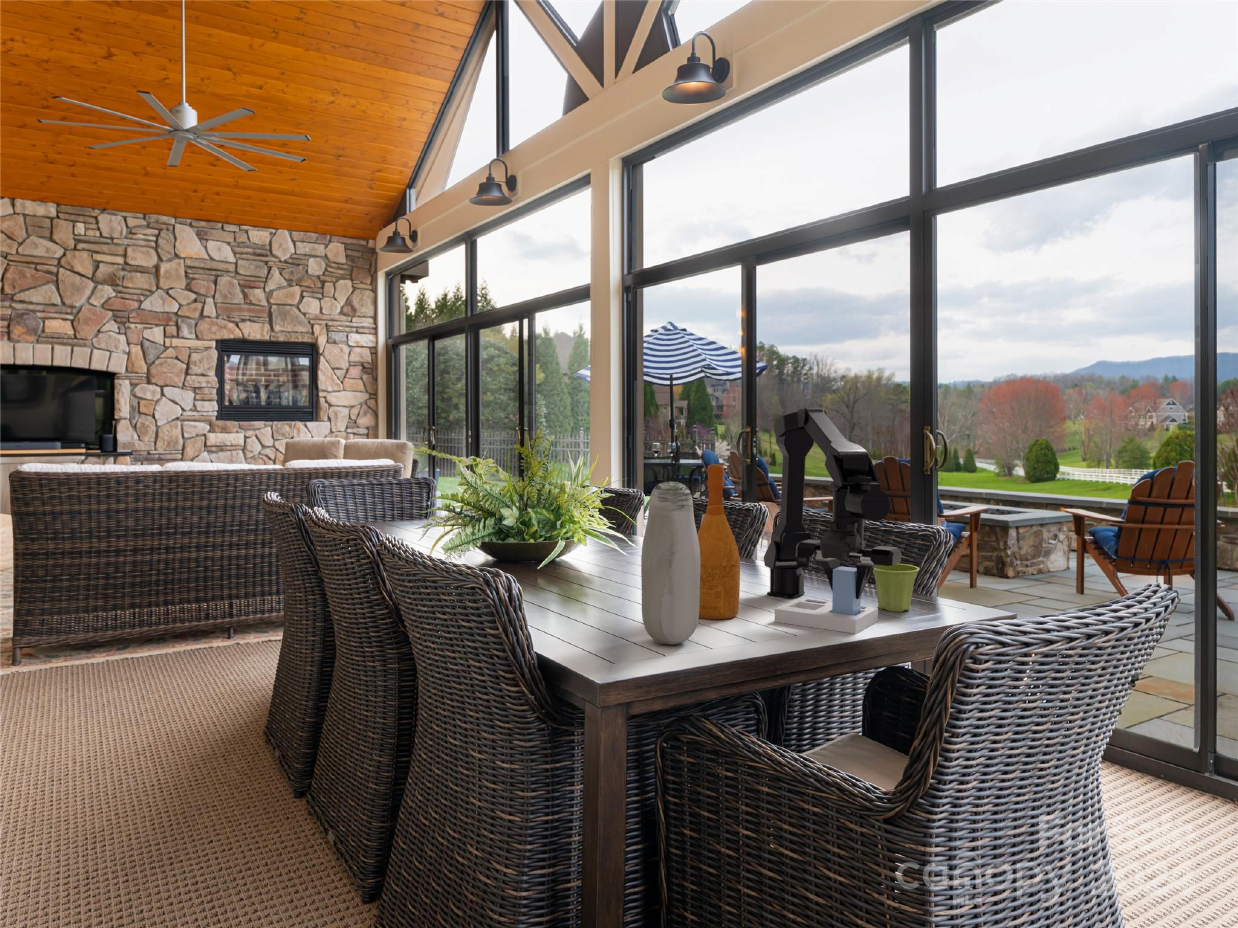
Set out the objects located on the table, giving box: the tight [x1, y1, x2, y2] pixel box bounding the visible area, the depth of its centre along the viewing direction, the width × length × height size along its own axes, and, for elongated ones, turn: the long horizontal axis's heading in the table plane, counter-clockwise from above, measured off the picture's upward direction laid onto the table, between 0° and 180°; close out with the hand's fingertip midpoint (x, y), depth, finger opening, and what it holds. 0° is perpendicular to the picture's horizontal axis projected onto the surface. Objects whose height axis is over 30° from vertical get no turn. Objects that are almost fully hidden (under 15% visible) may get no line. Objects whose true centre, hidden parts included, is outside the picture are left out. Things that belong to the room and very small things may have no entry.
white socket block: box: [774, 598, 879, 634], centre depth 166 cm, size 16×12×3 cm
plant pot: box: [872, 563, 920, 613], centre depth 177 cm, size 9×9×9 cm
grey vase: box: [640, 481, 700, 646], centre depth 149 cm, size 10×10×28 cm
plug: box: [832, 566, 862, 616], centre depth 163 cm, size 4×5×9 cm
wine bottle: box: [697, 463, 741, 620], centre depth 170 cm, size 10×10×30 cm
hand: (846, 597), depth 163 cm, fingers closed on plug, 4 cm apart
